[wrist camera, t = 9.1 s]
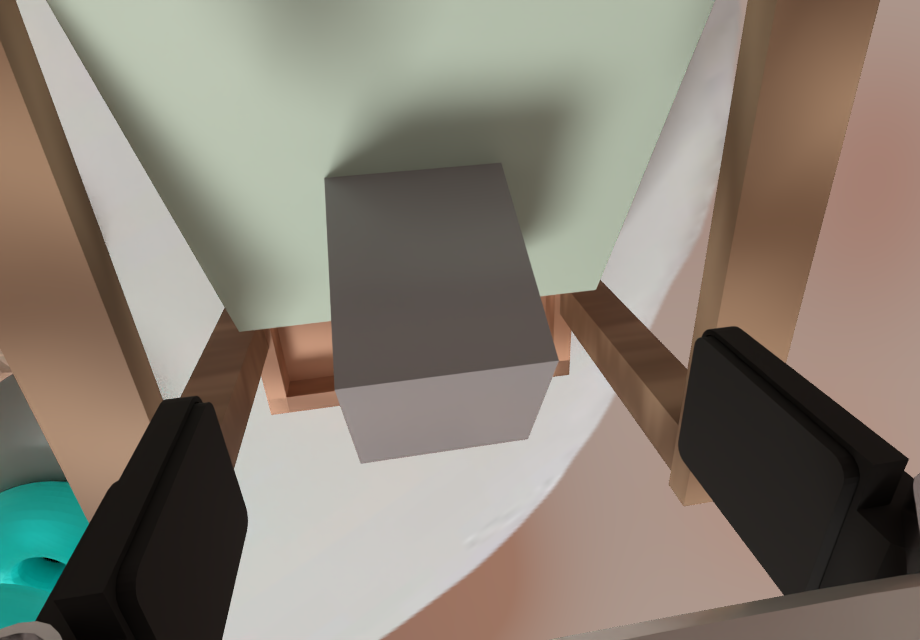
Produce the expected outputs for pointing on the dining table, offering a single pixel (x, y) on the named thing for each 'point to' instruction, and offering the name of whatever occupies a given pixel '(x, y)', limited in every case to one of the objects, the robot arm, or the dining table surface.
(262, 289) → the trapdoor
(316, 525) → the dining table surface
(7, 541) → the donuts
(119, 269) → the dining table surface
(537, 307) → the grey squarish block
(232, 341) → the frame
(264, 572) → the dining table surface
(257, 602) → the dining table surface
